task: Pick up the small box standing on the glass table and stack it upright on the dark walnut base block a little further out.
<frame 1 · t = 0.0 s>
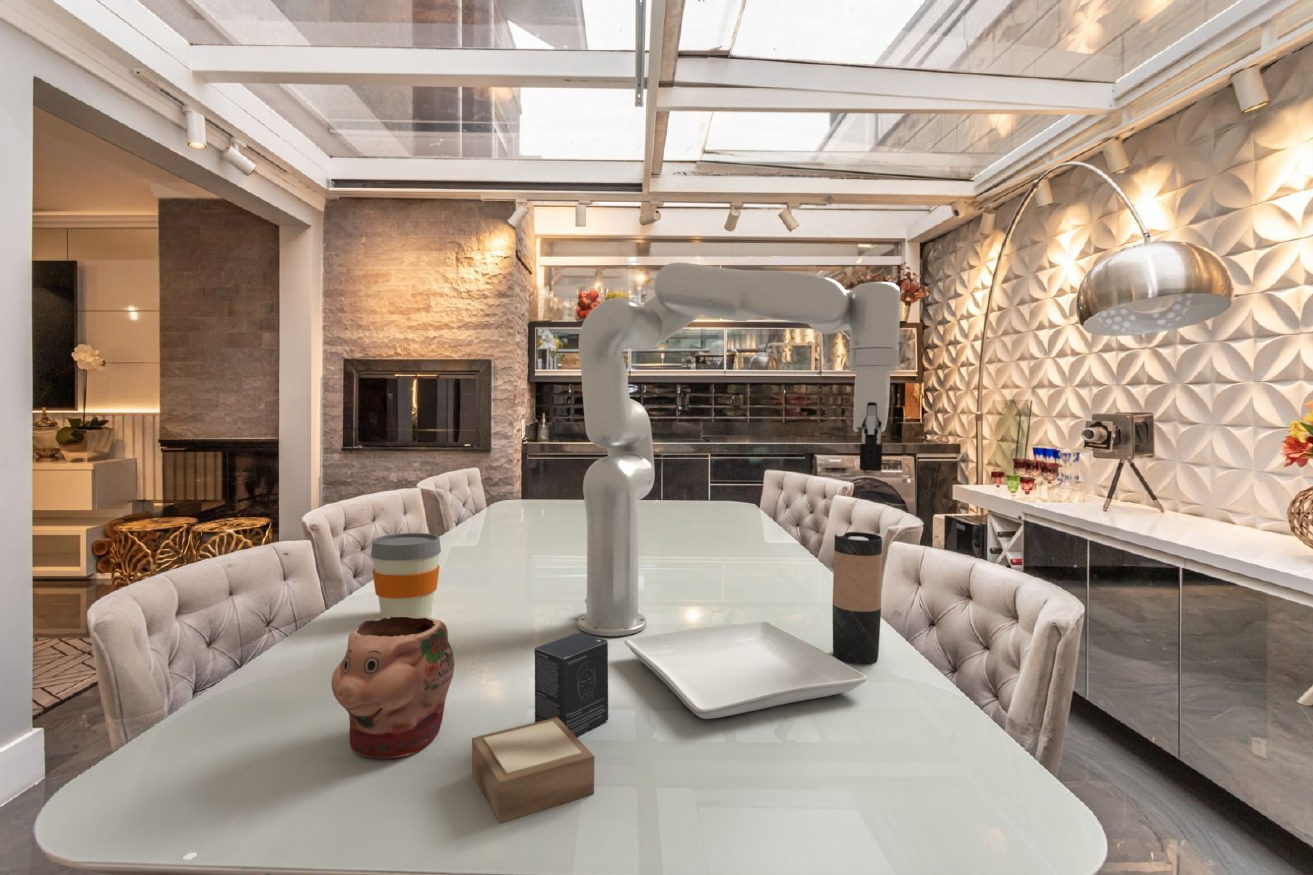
hand: (871, 467, 106), 31 cm above the table, tool pointing down, fingers open, 9 cm apart
decorative planter: (402, 736, 81), on the table
travel mug: (855, 658, 108), on the table
square plate: (737, 680, 100), on the table
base: (531, 783, 71), on the table
reusable coffee cup: (406, 617, 127), on the table
box: (571, 727, 84), on the table
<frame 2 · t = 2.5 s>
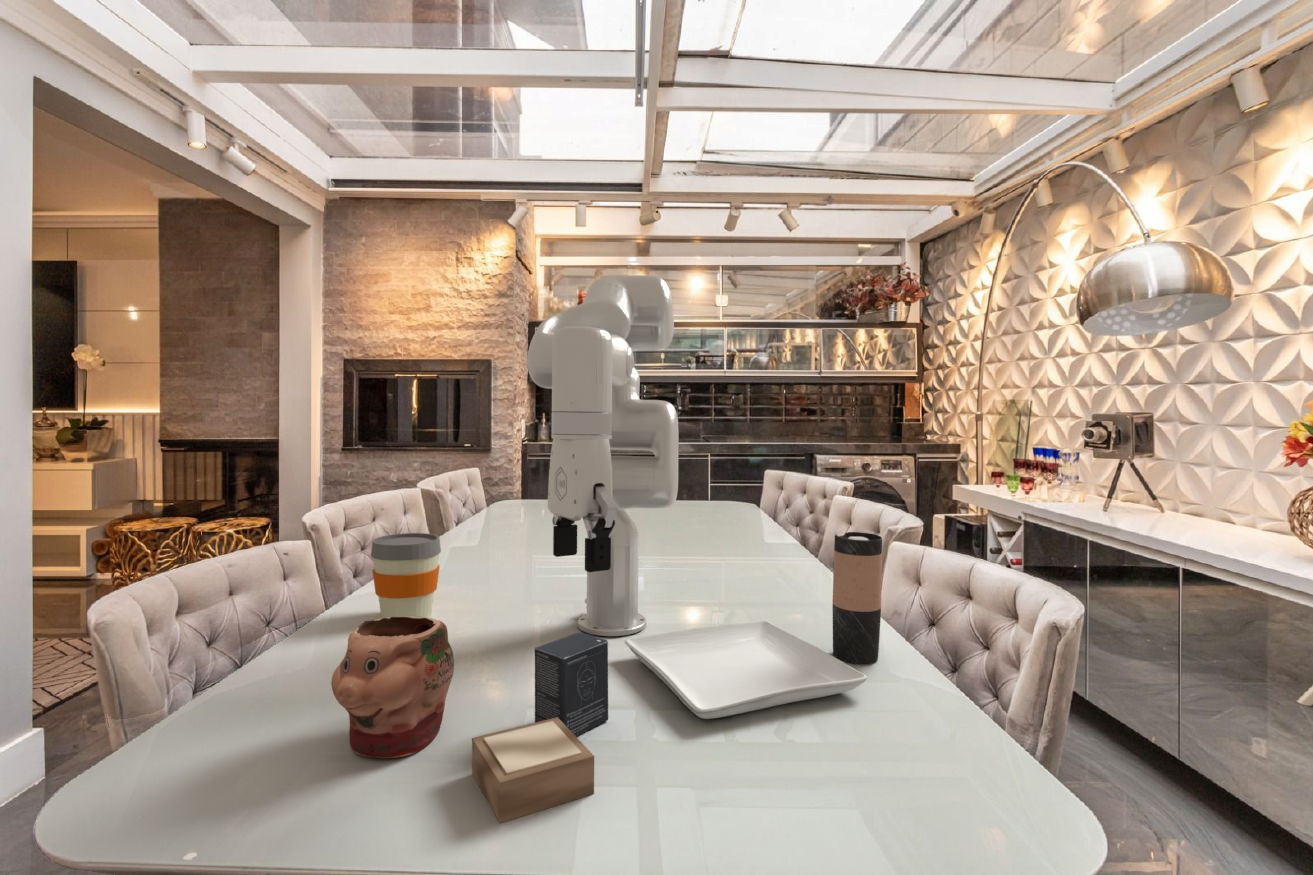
hand: (580, 562, 83), 21 cm above the table, tool pointing down, fingers open, 9 cm apart
nothing on the table moved.
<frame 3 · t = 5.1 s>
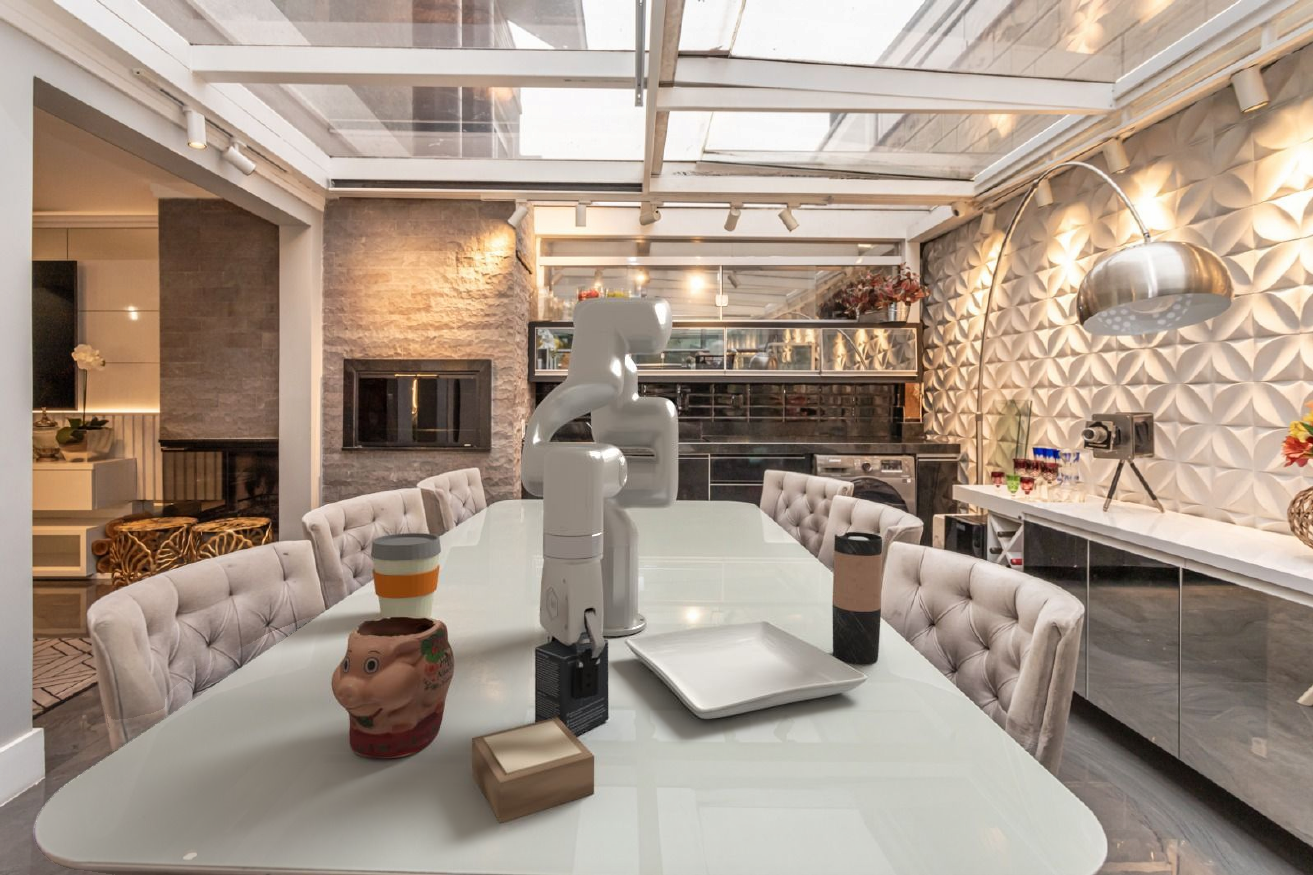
hand: (572, 684, 83), 5 cm above the table, tool pointing down, fingers closed on box, 7 cm apart
box: (571, 726, 84), on the table, touching gripper
everything else where it was.
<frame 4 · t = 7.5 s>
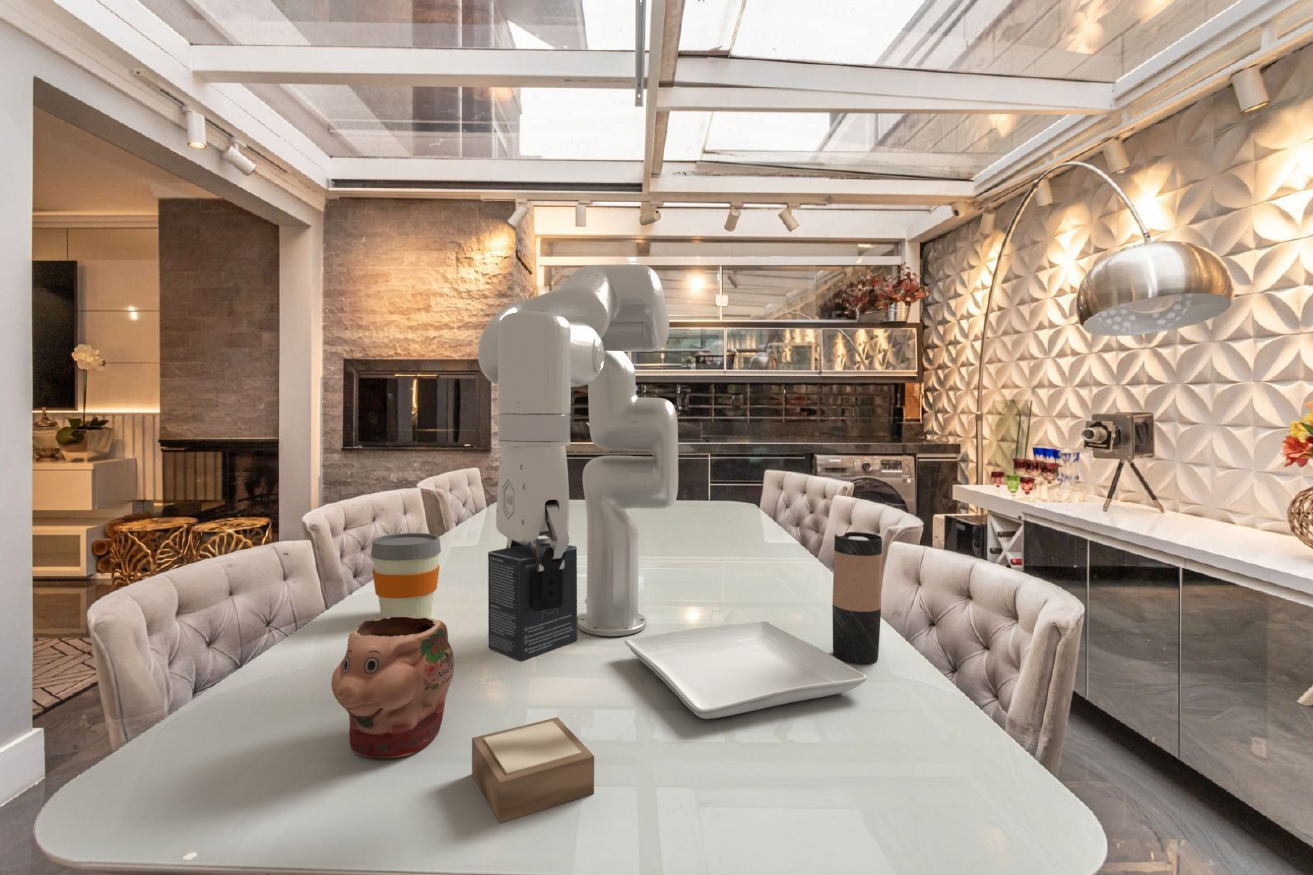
hand: (533, 597, 70), 20 cm above the table, tool pointing down, fingers closed on box, 7 cm apart
box: (533, 648, 70), point 15 cm above the table, touching gripper
everything else where it was.
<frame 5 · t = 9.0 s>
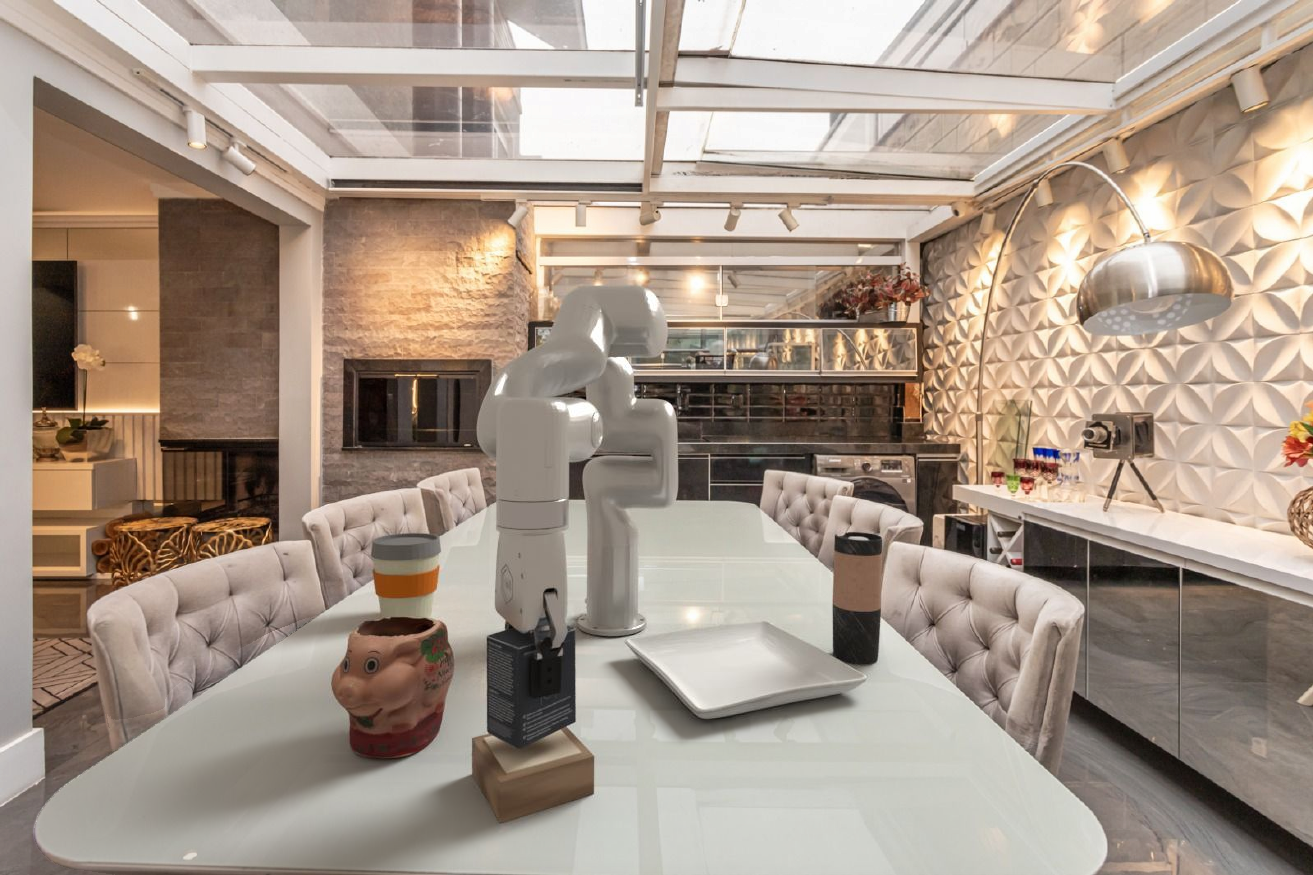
hand: (532, 680, 70), 11 cm above the table, tool pointing down, fingers closed on box, 7 cm apart
box: (531, 730, 70), point 6 cm above the table, touching gripper
everything else where it was.
when the fingers open (10 cm above the table, at t = 10.1 s): box stays where it is, resting on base.
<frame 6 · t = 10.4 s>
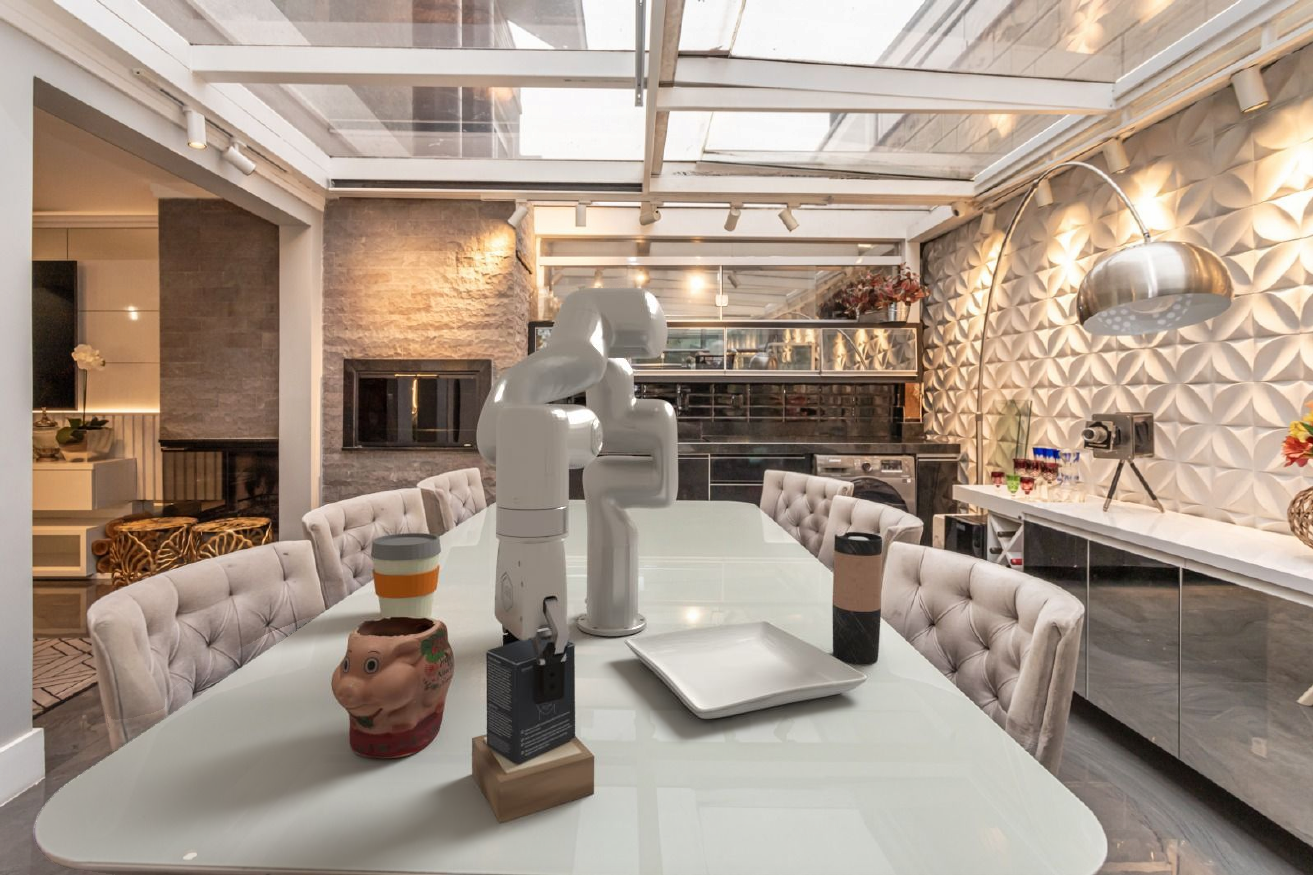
hand: (531, 683, 70), 11 cm above the table, tool pointing down, fingers open, 9 cm apart
box: (531, 745, 71), point 4 cm above the table, touching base
everything else where it was.
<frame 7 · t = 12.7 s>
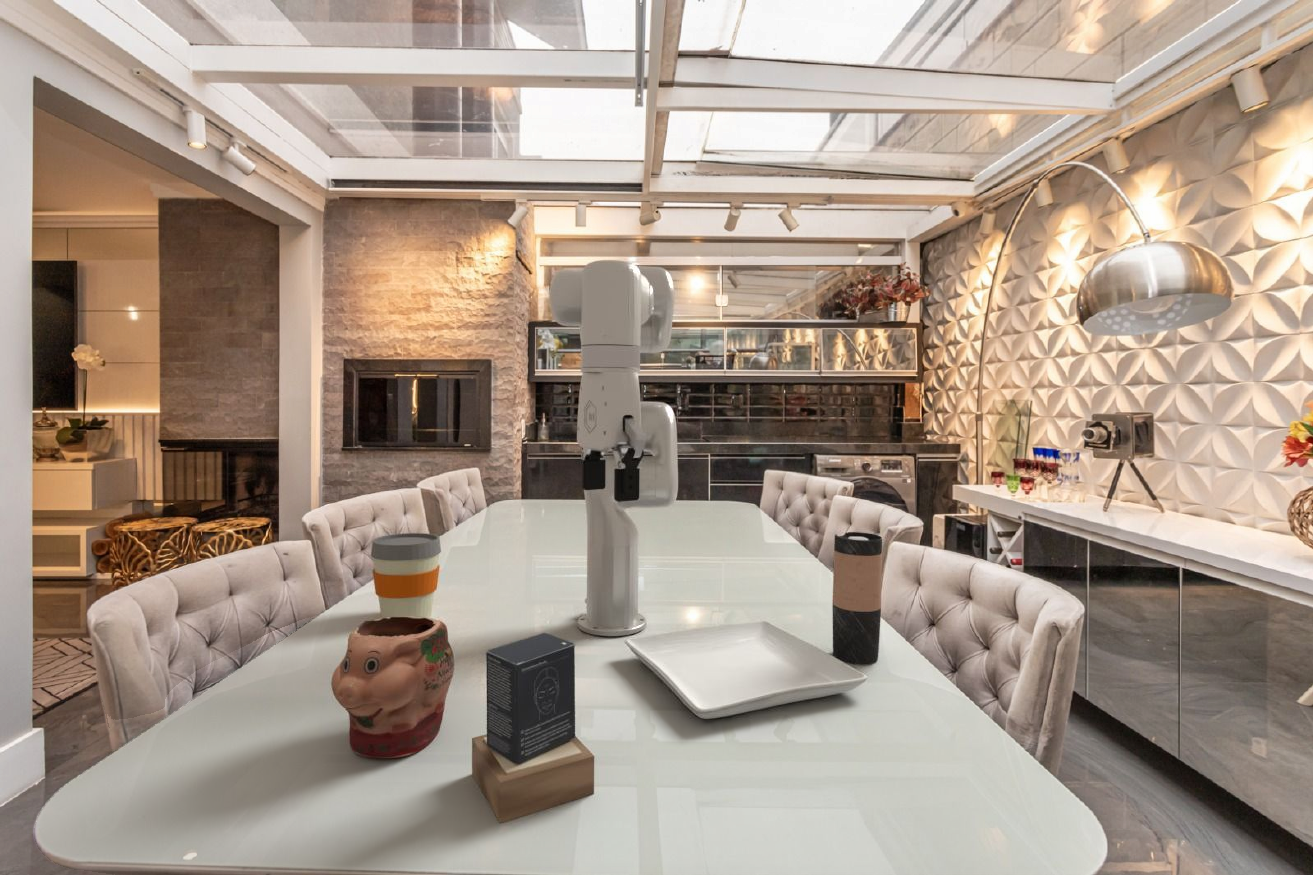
hand: (609, 494, 85), 29 cm above the table, tool pointing down, fingers open, 9 cm apart
nothing on the table moved.
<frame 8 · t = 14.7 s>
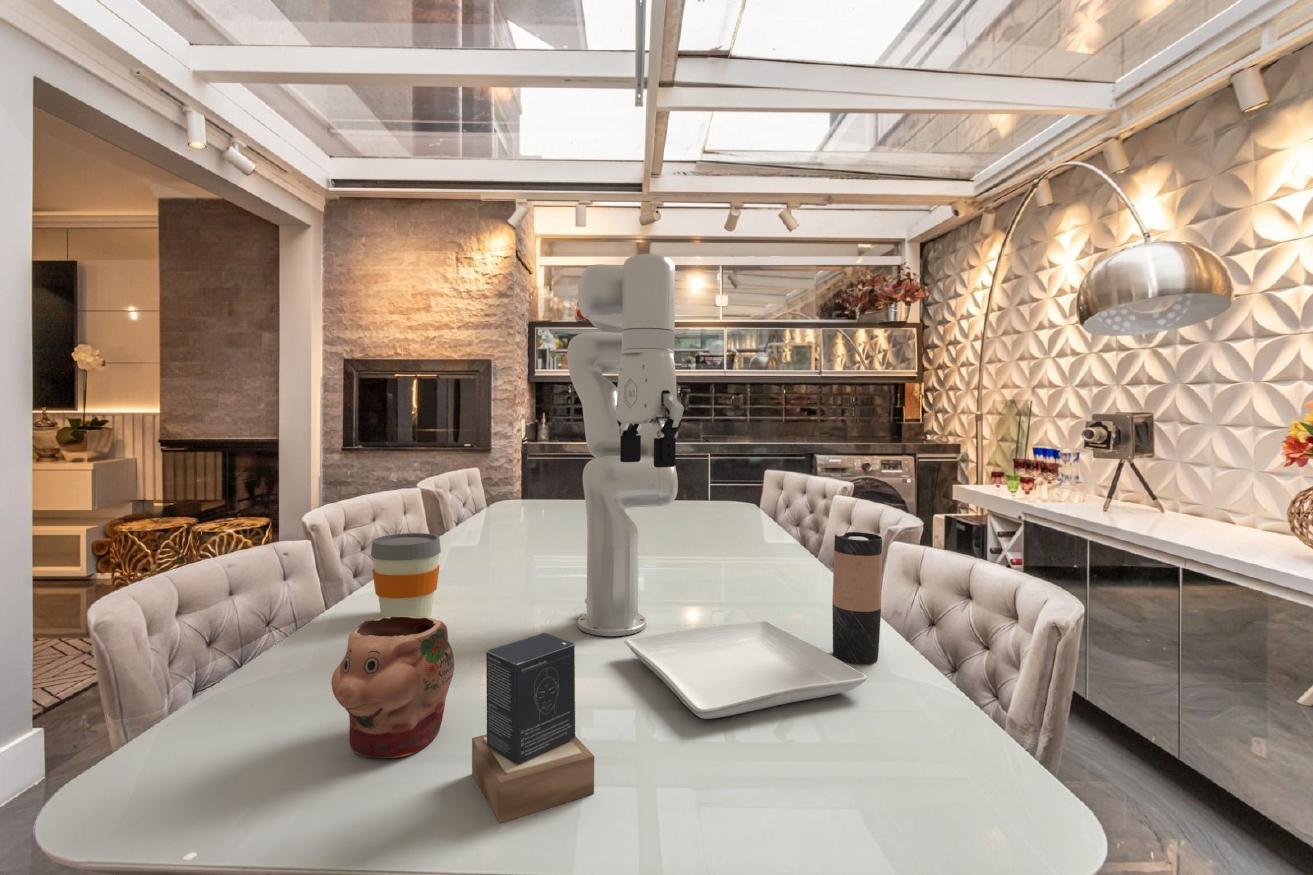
hand: (646, 464, 95), 32 cm above the table, tool pointing down, fingers open, 9 cm apart
nothing on the table moved.
at the end: box inside the target area on the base (0.3 cm from its centre), point 4.0 cm above the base's base; box tilted 0°; the gripper is holding nothing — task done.
